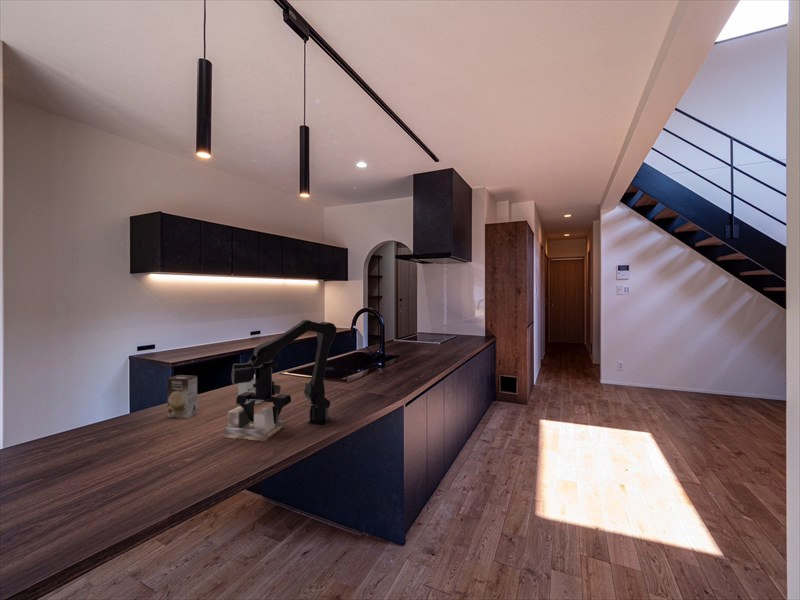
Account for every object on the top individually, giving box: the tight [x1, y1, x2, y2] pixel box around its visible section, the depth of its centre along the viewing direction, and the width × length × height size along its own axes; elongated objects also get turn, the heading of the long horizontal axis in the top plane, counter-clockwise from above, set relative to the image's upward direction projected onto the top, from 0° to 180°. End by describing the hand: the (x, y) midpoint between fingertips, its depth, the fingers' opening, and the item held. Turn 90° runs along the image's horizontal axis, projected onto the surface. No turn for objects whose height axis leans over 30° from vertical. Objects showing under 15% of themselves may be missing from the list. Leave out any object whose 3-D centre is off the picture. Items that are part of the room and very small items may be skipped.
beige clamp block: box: [223, 405, 283, 442], centre depth 127 cm, size 16×12×8 cm
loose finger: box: [254, 407, 275, 432], centre depth 126 cm, size 5×7×7 cm, turn 169°
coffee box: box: [167, 374, 198, 419], centre depth 143 cm, size 9×6×16 cm
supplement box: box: [237, 373, 262, 405], centre depth 159 cm, size 7×7×13 cm
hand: (263, 422), depth 126 cm, fingers open, 9 cm apart
